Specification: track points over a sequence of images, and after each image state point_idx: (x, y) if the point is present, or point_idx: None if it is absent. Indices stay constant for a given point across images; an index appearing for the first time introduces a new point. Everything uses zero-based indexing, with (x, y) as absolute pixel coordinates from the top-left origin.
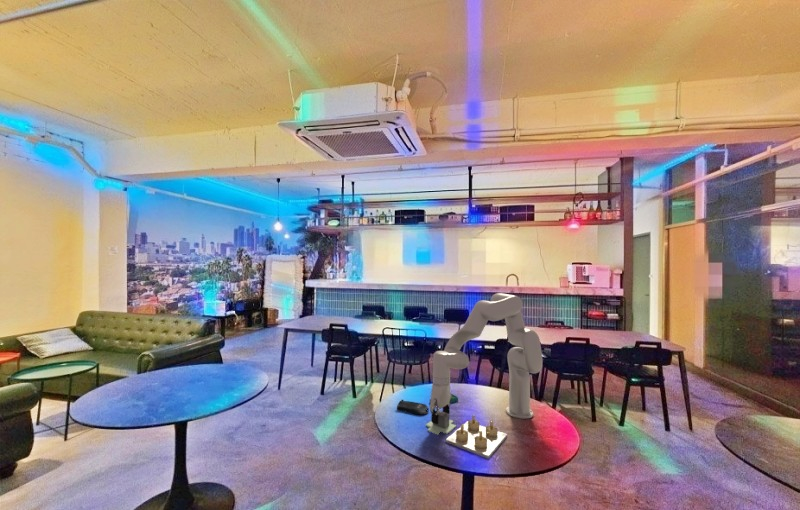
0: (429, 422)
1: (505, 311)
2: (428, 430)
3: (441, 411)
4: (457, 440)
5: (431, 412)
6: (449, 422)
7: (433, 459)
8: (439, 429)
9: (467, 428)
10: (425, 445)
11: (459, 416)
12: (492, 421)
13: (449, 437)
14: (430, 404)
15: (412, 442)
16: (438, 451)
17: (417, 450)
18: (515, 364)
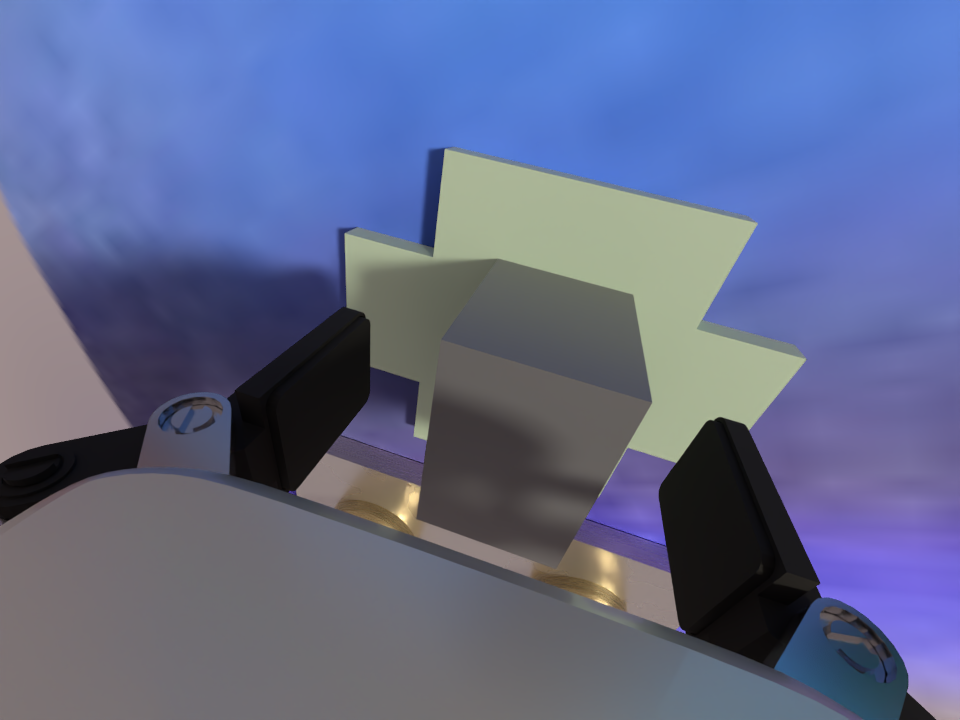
0: (541, 185)
1: None
2: (352, 241)
3: (604, 475)
4: (332, 506)
5: (125, 433)
6: (647, 438)
7: (101, 380)
8: (425, 361)
9: (552, 572)
10: (151, 291)
11: (941, 512)
12: None
13: (329, 461)
14: (3, 524)
15: (73, 152)
16: (181, 393)
17: (55, 252)
18: None
